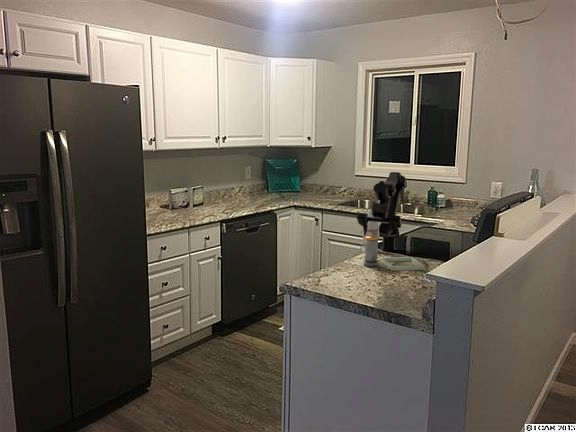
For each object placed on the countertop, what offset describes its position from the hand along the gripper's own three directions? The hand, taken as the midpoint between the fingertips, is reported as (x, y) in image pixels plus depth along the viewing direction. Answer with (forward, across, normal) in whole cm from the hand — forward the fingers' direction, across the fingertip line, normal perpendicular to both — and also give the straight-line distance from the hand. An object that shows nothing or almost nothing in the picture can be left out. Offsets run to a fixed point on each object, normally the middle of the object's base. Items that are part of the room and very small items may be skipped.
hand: (375, 236), depth 196 cm
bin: (+9, +12, +8) cm, 17 cm away
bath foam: (-6, -7, +23) cm, 25 cm away
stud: (+13, 0, +4) cm, 14 cm away
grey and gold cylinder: (+12, 0, +4) cm, 13 cm away
